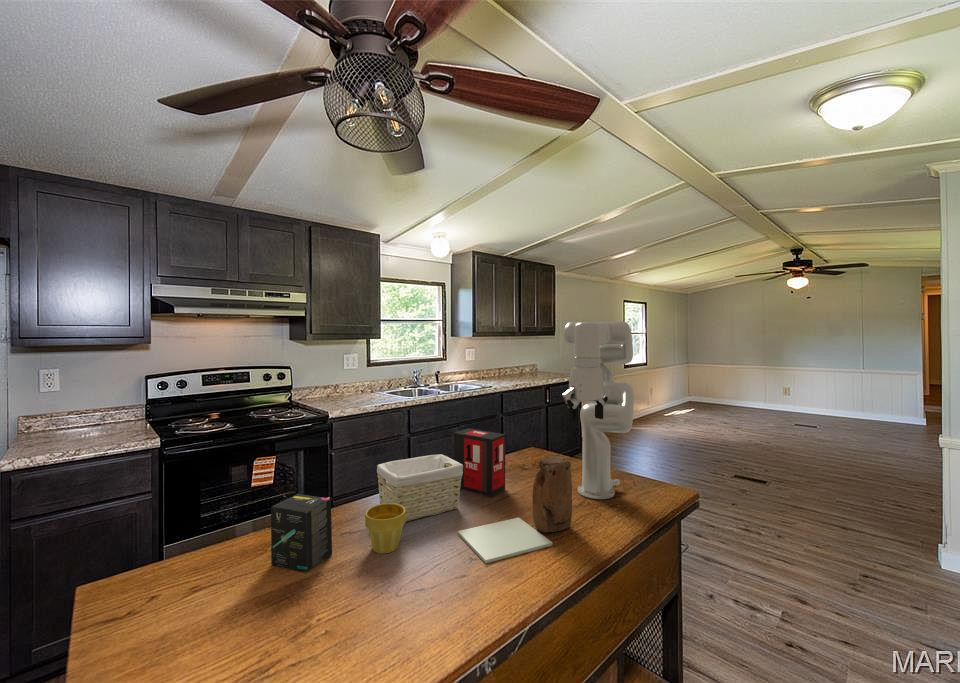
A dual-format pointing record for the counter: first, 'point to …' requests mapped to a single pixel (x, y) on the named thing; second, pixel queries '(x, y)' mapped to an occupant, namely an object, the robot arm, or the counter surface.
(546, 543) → the cutting board
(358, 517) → the counter surface
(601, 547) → the counter surface
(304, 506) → the tampon box
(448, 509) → the storage basket
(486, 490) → the cleaning product box
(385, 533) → the plant pot
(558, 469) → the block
